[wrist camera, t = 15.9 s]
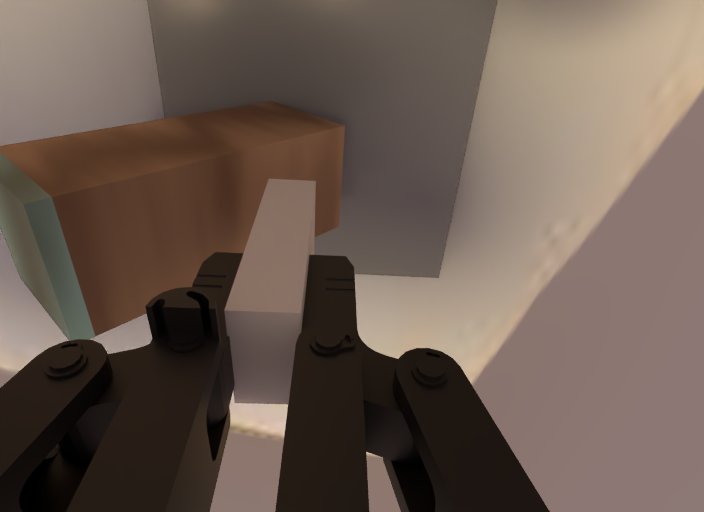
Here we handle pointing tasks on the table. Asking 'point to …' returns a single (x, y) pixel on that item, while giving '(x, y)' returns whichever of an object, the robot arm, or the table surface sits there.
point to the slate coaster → (347, 101)
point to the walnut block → (152, 204)
